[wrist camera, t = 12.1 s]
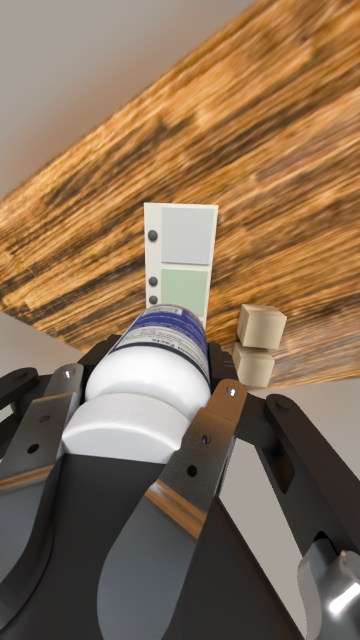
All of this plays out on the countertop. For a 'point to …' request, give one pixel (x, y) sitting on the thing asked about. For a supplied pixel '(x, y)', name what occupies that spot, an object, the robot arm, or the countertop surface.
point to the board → (179, 254)
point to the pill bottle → (144, 389)
